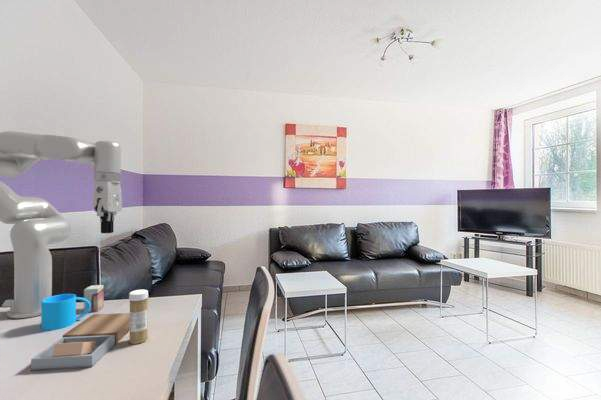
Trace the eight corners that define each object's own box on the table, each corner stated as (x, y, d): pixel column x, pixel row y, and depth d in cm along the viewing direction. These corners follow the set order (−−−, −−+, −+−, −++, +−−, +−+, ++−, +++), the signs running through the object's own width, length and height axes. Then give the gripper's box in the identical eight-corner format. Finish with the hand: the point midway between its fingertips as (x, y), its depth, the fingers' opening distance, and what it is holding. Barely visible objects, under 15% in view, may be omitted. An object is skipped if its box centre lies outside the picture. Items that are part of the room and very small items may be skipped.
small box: (97, 311, 101) (98, 288, 101) (83, 312, 100) (83, 289, 100) (104, 306, 105) (104, 284, 105) (90, 307, 104) (90, 285, 104)
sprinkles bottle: (148, 335, 83) (148, 288, 83) (147, 342, 79) (148, 292, 79) (129, 338, 81) (129, 290, 81) (128, 346, 77) (128, 295, 77)
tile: (69, 342, 73) (67, 353, 72) (54, 344, 68) (51, 356, 67) (96, 341, 74) (93, 352, 73) (83, 342, 69) (80, 354, 68)
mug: (41, 333, 84) (41, 304, 84) (41, 324, 90) (41, 297, 90) (92, 321, 92) (92, 295, 92) (88, 314, 98) (89, 289, 98)
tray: (31, 370, 66) (31, 359, 66) (62, 347, 76) (62, 337, 76) (92, 367, 68) (92, 355, 68) (114, 344, 78) (115, 334, 78)
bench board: (62, 346, 77) (62, 335, 77) (93, 324, 90) (93, 314, 90) (116, 344, 78) (116, 332, 78) (138, 322, 92) (138, 312, 92)
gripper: (108, 177, 92) (107, 235, 92) (129, 180, 107) (128, 230, 107) (82, 176, 91) (81, 235, 91) (107, 179, 106) (106, 230, 106)
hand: (107, 232), depth 99 cm, fingers closed
